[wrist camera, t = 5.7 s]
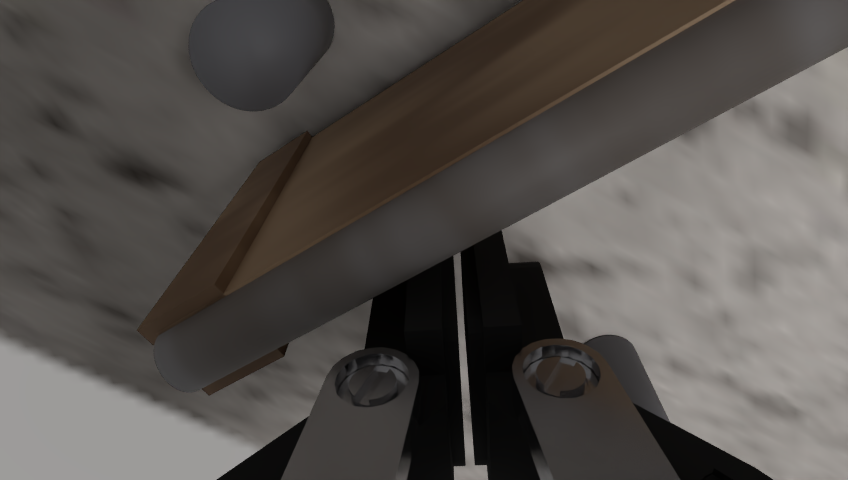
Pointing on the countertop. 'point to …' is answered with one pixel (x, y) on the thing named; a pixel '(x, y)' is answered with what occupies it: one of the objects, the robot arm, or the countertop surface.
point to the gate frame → (258, 48)
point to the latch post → (629, 371)
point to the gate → (465, 160)
